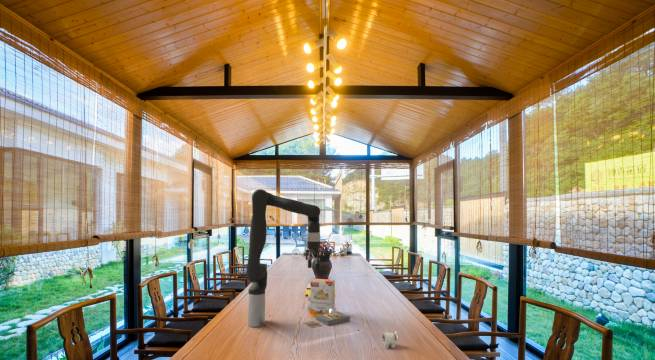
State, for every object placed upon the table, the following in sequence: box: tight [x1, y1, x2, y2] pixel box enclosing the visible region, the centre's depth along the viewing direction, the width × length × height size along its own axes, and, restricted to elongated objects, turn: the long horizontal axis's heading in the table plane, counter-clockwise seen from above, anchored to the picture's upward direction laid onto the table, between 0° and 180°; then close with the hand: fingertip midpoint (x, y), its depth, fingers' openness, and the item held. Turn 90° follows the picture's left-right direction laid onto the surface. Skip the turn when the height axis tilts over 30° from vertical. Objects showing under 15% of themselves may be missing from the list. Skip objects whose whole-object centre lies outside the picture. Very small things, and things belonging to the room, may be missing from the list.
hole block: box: [315, 310, 351, 326], centre depth 209 cm, size 12×15×4 cm
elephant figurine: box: [381, 330, 399, 349], centre depth 175 cm, size 8×10×7 cm
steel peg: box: [329, 307, 337, 318], centre depth 209 cm, size 4×4×8 cm
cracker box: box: [309, 278, 336, 314], centre depth 226 cm, size 14×6×21 cm, turn 73°
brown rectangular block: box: [302, 320, 324, 329], centre depth 202 cm, size 10×7×2 cm
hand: (313, 269), depth 211 cm, fingers open, 8 cm apart
